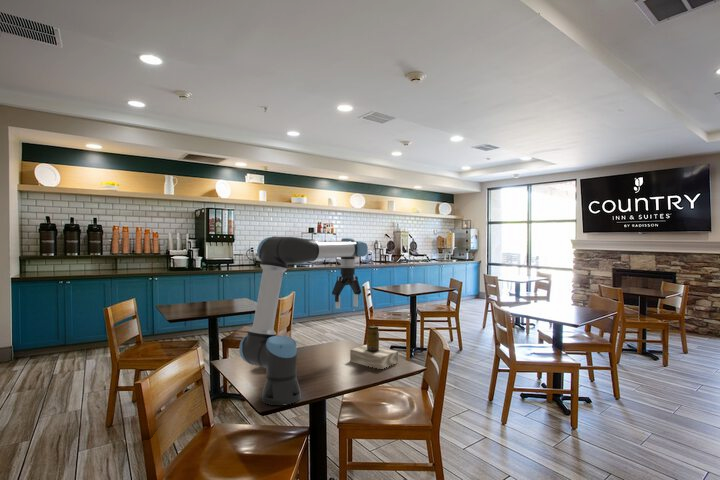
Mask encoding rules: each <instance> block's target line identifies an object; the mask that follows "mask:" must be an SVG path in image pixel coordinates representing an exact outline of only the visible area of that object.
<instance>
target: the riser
mask: <svg viewBox="0 0 720 480" xmlns="http://www.w3.org/2000/svg"><path fill="white" fill-rule="evenodd" d="M363 349H367V343H366V344H364V345H361V346H358V347H357V346H356V347H354V348H351V349H350V350H349V355H350V357H349V358H350V361H349V362H350V363H355V364H359V365H361V366H362V365H363V366H366V367H368V366H369V368H372V367H373V369H375V368H377V369H376V370H379V369H383V370H385V369H387V368H390V367H392V366H394V365H393V364H395V365H397V364H399V351H398V350H395V349H391V348H386V347H382V346H379V349H381V350H384V351H382V352H378V353H372V352H369V351H366V350H363ZM396 363H397V364H396ZM391 365H392V366H391ZM389 366H390V367H389ZM386 367H387V368H386ZM384 368H385V369H384Z"/></svg>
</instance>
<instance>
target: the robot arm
mask: <svg viewBox="0 0 720 480" xmlns="http://www.w3.org/2000/svg"><path fill="white" fill-rule="evenodd" d="M368 248H369V247H368V245H367V243H366V242H365V241H362V240H358V241H357V240H355V239H354V238H349V237H347V238H344V237H343V238H341V240H328V241H327V240H326V241H324V240H323V241H322V240H321V241H316V240H315V239H311V238H301V237H297V236H295V237H294V236H269V237H265V238H264V239H262V240H261V241H260V242H259V244H258V246H257V250H256V251H257V253H256V255H257V257H258V259H259V261H260V262H259V263H260V264H259V266H260V267H261V269H262V272H261V273H262V274H261V278H260V284H259V289H258V295H257V300H256V306H255V312H254V317H253V322H252V327H250V328H249V329H248V330H247V334H246V335H244V337H243V338H242V339H241V341H240V342H239V346H238V347H239V348H238V350H239V355H240V358H241V359H242V360H243V362H246V363H248V364H249V365H252V366H258V367H260V368H263V369H266V371H265V372H266V380H265V383H264V386H263V389H262V393H261V402H262V401H263V402H264V403H263V402H262V403H263V404H265V403H266V404H265V405H267V404H269V405H268V406H270V405H283V404H290V405H292V404H291V403H293V404H295V403H297V402H299V401H300V400H301V398H302V392H301V391H302V390H301V388H300V384H299V381H298V377H297V373H298V372H297V368H298V367H297V365H298V363H297V362H298V360H297V359H298V358H297V357H298V349H297V342H296V340H295V339H294V338H292V337H290V336H287V335H277V332H276V331H275V330H274V327H275V322H276V321H275V320H276V316H277V310H278V306H279V305H278V304H279V298H280V292H281V287H282V281H283V275H284V273H285V272H286V271H287V270H288V267H289V265H296V264H301V263H302V264H303V263H309V262H314V261H315V262H316V260H319V259H333V258H334V259H335V258H337V259H338V258H340V267H341V268H340V275H341V276H338V275H337V276H336V281H335V284H334V286H333V290H332V292H331V294H332V295H333V296H334V302H335V307H334V308H335V309H339V310H340V309H341V294H342V291H343V289H344V288H345V287H346V286H350V288H351V290H352V292H353V293H354V294H353V296H352V297H353V298H352V300H353V301H352V303H353V304H352V305H353V306H352V307H355V308H358V307H359V296H360V295H361V293H362V289H361V286H360V283H359V278H358V276H357V275H355V270H356V269H355V267H356V266H355V265H356V259H355V258H356V257H358V258H360V257H362V258H363V257H366V255H367V254H368V250H369V249H368ZM298 400H299V401H298ZM294 402H295V403H294Z"/></svg>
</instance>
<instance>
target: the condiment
mask: <svg viewBox="0 0 720 480" xmlns="http://www.w3.org/2000/svg"><path fill="white" fill-rule="evenodd" d="M366 338H367V339H366V344H367V349H363V350H366V351H369V352H372V353H378V352H382V351H384V350H381V349H379V347H380V332H379V327H378V326H377V325H369V326H367V332H366Z"/></svg>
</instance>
